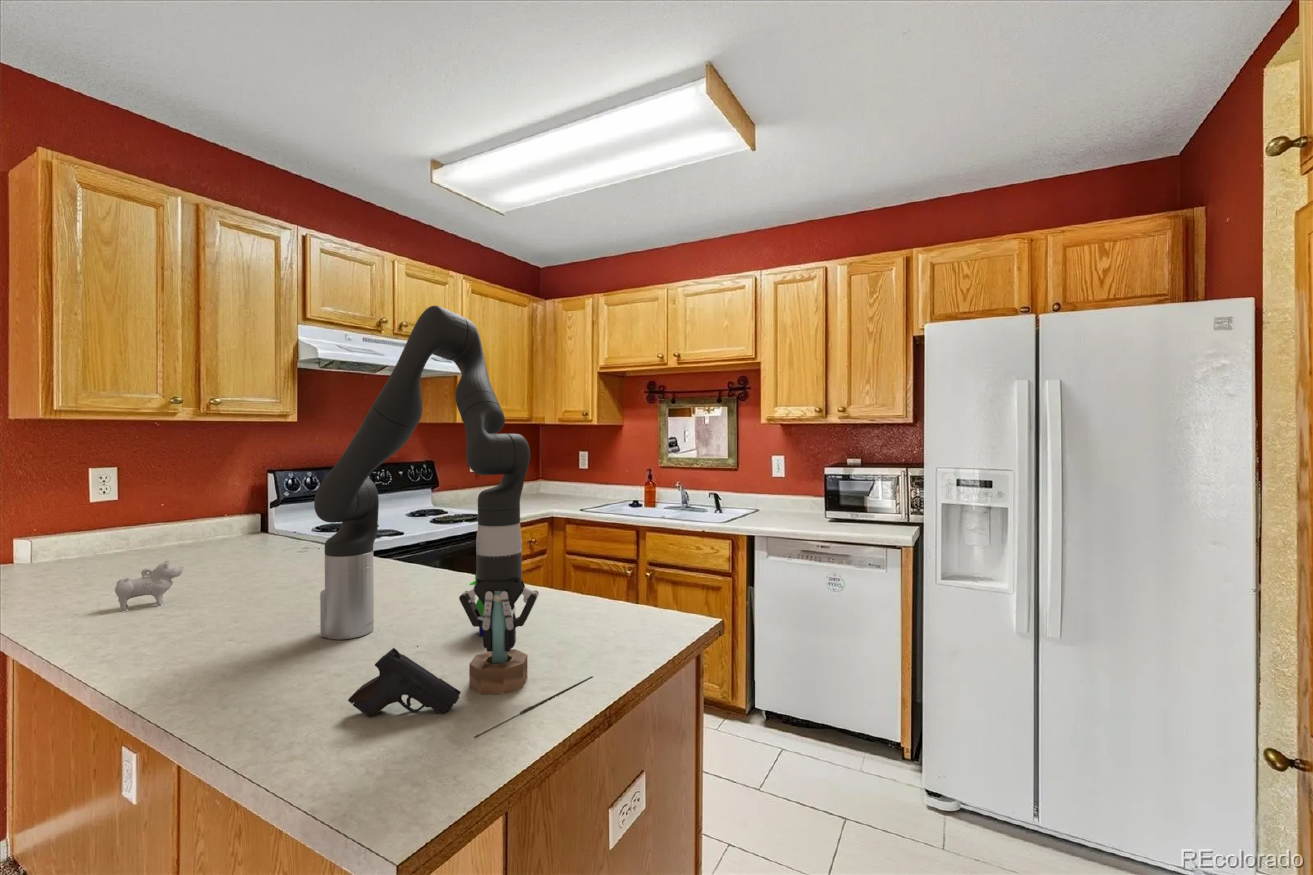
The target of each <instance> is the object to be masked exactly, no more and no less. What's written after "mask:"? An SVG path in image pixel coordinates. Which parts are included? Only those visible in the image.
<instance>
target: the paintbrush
mask: <svg viewBox="0 0 1313 875" xmlns="http://www.w3.org/2000/svg"><path fill="white" fill-rule="evenodd" d="M592 678H594V676H592V675H591V676H590V677H588V678H585V679H583V680H580V681H579V682H578V683H576V684H573V685H572V686H569V687H567V688H566V689H563V690H562V691H559V692H557V693H555V694H553V695H552V696H549V697H547V698H546V699H543V700H542V701H539V702H538V703H535V704H534V705H532V706H531V705H530V706H528V707H527V708H525V709H523V710H521V711H520V712H519V713H518V714H516V715H514V716H512V717H510V718H509V719H507V720H505V721H502V722H500V723H498V724H496V725H494V726H492V727H491V728H488V729H486V730H484V731H482V732H480V733H478V734H476V735H474V738H478V737H479V736H481V735H482V734H485V733H487V732H489V731H491V730H492V729H494V728H497V727H499V726H500V725H502V724H504V723H506V722H508V721H510V720H513V719H514V718H516V717H518V716H521V715H523V714H526V713H527V712H530V711H532V710H534V709H535V708H537V707H539V706H541V705H543V704H545V703H547V702H548V701H547V700H549V701H551V700H552V698H553V699H554V698H556V697H559V696H560V695H562V694H564V693H566V692H568V691H570V690H571V689H573V688H575V687H577V686H580V685H581V684H583V683H585V682H587V681H589V680H590V679H592ZM565 691H566V692H565ZM555 696H556V697H555ZM546 701H547V702H546ZM544 702H545V703H544ZM538 705H539V706H538Z"/></svg>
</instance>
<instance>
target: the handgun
mask: <svg viewBox="0 0 1313 875" xmlns="http://www.w3.org/2000/svg"><path fill="white" fill-rule="evenodd" d="M374 667H375V668H377V669H378V672H379V673H378V674H379V675H378V676H375V677H374V678H372V679H370V680H369V681H367V682H365V683H364V684H362V685H361V686H360V687H358V688H357V690H356V691H355V692H354V693H353V694H352V695H350V697H349V698H348V699H347V701H348V702H349V704H351V705H352V706H353V707H354V708H355V709H357V710H358V711H360V712H361V713H362V714H364V715H365V716H367V717H368V718H373V717H374V716H375V715H376V714H378V713H379V712H380V711H382V710H383V709H385V708H386V707H387V706H389V705H391V704H394V703H399V704H400V705H401V706H402V707H403V708H405V709H406V710H407V711H408V712H410V713H418V712H419V711H421V710H422V709H423V708H431V709H432V710H434V711H436V712H437V713H439V714H440V715H444V714H446V713H449V711H450V710H451V709H452V708H453V707H454V704H457V702H458V701H459V699H460V695H461V694H462V691H460V690H459V689H457V688H456V687H454V686H452V684H449V683H448V682H447V681H445V680H443V678H440V677H438V676H437V675H435V674H434V673H432V672H431V671H429V670H427V669H425V668H424V667H423V666H421V665H420V664H418V663H417V662H415V661H414V660H412V659H410V657H408V656H406V654H405V655H404V654H402V653H400V652H399V651H398V650H397V649H396V648H395V647H393V648H392V649H390V650H389V651H388V652H386V654H384V655H383V656H381V657H380V658H379V660H377V662H376V663H375V664H374ZM403 696H407V698H406V703H405V702H404V700H403V699H402V698H403ZM411 699H413V700H415V701H416V702H419V703H420V704H421V706H420V707H418V708H413V707H411V706H412V703H411Z"/></svg>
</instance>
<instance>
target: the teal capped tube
mask: <svg viewBox="0 0 1313 875" xmlns="http://www.w3.org/2000/svg"><path fill="white" fill-rule="evenodd" d="M494 592H495V595H494V597H493V602H494V608H493V610H492V664H503V663H506V662H508V661H507V651H505V630H506V629H507V627H506V620H505V617H504V612H503V608H502V601H501V591H494Z"/></svg>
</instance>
